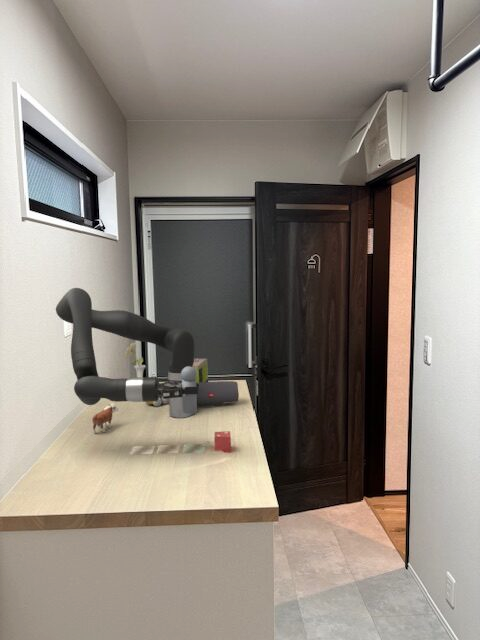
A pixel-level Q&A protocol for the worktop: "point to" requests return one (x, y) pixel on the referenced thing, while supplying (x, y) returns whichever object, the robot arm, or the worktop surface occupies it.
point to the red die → (222, 441)
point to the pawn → (189, 381)
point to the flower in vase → (138, 367)
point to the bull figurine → (104, 417)
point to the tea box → (201, 370)
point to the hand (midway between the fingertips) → (197, 388)
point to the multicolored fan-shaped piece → (159, 401)
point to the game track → (168, 449)
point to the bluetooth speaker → (217, 393)
